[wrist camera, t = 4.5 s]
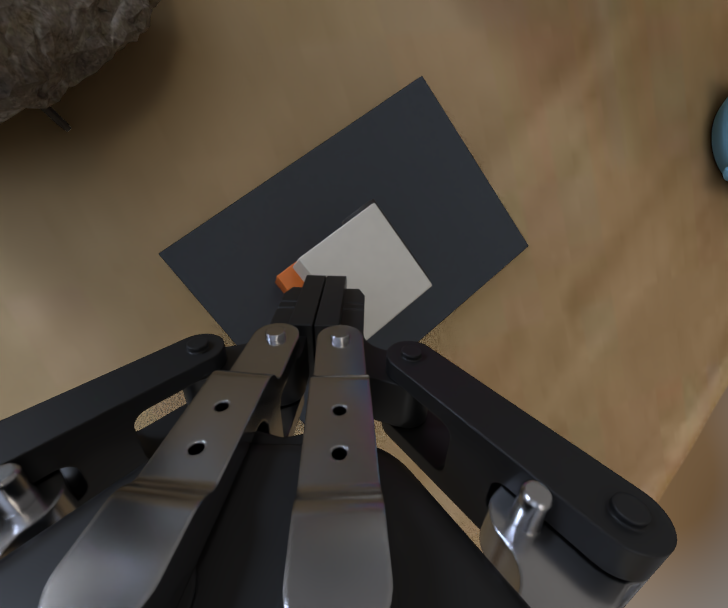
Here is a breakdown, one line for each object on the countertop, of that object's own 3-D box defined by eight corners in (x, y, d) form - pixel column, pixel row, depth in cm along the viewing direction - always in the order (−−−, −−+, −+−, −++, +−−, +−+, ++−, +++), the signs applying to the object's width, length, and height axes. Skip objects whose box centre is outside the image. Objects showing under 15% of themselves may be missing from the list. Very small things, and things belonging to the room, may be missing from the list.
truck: (315, 333, 28) (350, 362, 16) (273, 280, 27) (274, 267, 15) (378, 283, 30) (456, 273, 17) (339, 230, 29) (392, 180, 16)
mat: (311, 431, 29) (312, 433, 29) (159, 254, 26) (158, 253, 25) (525, 246, 34) (528, 245, 33) (420, 78, 31) (422, 75, 30)
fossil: (98, -168, 21) (139, -151, 13) (195, 23, 29) (254, 101, 21) (-292, -13, 18) (-514, 114, 11) (-66, 146, 27) (-102, 281, 19)
